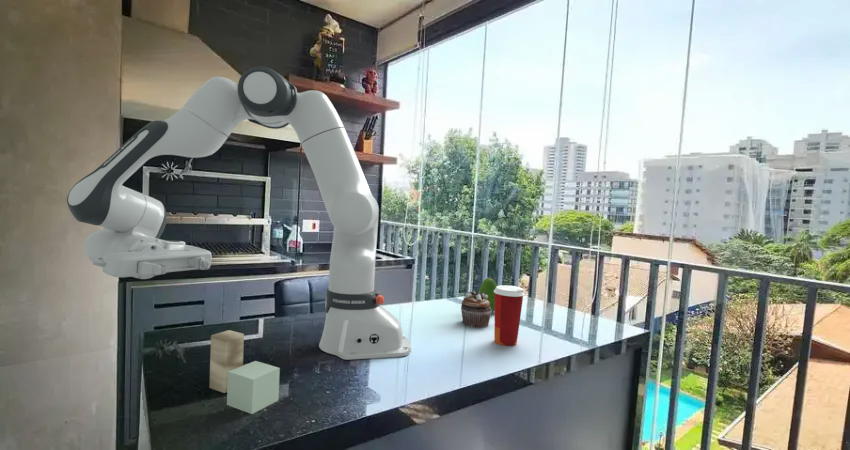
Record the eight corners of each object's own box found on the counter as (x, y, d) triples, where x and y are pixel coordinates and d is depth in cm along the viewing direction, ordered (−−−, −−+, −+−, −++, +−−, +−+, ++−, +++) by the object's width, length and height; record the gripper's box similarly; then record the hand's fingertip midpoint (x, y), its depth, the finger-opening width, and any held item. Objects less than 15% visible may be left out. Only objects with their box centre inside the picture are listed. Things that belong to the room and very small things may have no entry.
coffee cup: (526, 343, 119) (530, 288, 118) (510, 349, 113) (514, 292, 112) (500, 335, 125) (504, 283, 124) (483, 341, 119) (487, 286, 118)
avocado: (475, 314, 147) (478, 278, 146) (476, 308, 155) (479, 275, 154) (499, 316, 146) (502, 281, 145) (499, 310, 154) (502, 277, 153)
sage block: (254, 392, 81) (255, 360, 81) (278, 400, 78) (279, 368, 78) (226, 405, 76) (227, 371, 75) (251, 414, 73) (253, 379, 73)
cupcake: (456, 325, 133) (458, 292, 132) (464, 317, 142) (466, 287, 141) (487, 330, 129) (489, 297, 129) (493, 322, 138) (496, 291, 138)
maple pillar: (227, 380, 85) (229, 329, 85) (242, 385, 84) (243, 333, 83) (209, 387, 82) (211, 335, 81) (224, 393, 80) (226, 339, 79)
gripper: (88, 245, 83) (132, 255, 77) (187, 240, 102) (229, 249, 96) (86, 277, 84) (130, 290, 78) (185, 267, 102) (227, 277, 96)
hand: (185, 267), depth 87 cm, fingers open, 8 cm apart
